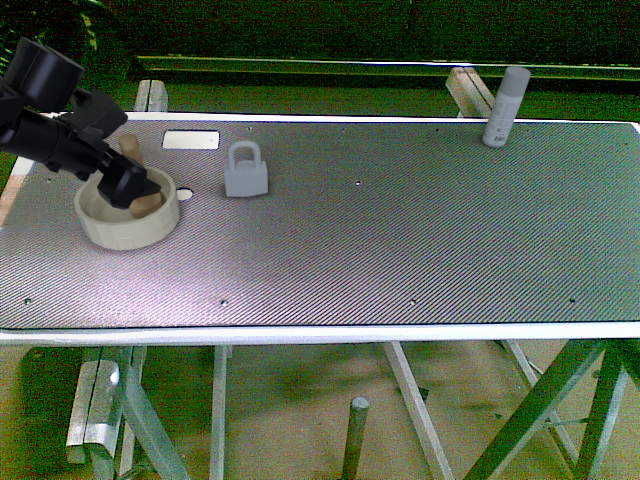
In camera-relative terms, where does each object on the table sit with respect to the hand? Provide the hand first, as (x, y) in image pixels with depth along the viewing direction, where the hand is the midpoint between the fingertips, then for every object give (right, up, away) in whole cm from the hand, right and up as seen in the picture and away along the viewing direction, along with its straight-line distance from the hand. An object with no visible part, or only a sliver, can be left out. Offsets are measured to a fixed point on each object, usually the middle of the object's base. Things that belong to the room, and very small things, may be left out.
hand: (142, 175), depth 72 cm
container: (+63, +10, +26) cm, 69 cm away
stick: (-1, -5, +4) cm, 7 cm away
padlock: (+14, -1, +10) cm, 18 cm away
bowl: (-3, -7, +3) cm, 8 cm away
